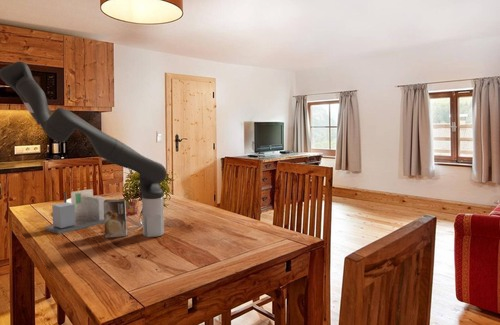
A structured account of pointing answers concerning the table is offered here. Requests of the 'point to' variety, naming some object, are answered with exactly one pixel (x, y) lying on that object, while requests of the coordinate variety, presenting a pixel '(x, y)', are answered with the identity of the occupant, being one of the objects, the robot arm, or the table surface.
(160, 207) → the robot arm
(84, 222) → the stand
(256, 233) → the table surface
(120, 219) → the coffee box
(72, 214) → the grey box
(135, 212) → the smoothie
